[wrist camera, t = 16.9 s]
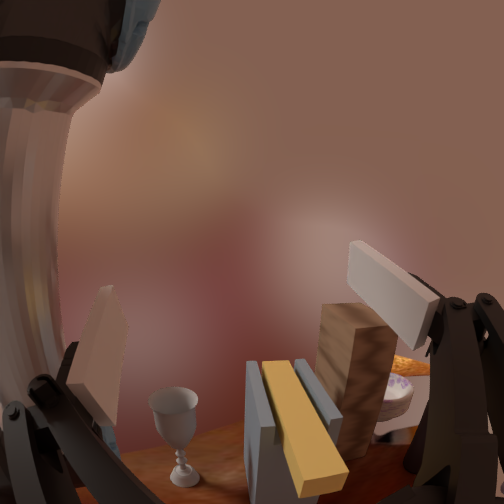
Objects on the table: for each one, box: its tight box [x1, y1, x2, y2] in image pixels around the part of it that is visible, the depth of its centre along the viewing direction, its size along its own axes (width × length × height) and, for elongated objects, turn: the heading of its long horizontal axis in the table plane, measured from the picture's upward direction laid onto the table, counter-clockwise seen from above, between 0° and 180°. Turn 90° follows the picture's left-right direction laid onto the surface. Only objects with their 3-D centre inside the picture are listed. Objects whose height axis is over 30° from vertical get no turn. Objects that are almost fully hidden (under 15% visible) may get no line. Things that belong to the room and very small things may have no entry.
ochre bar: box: [262, 360, 349, 498], centre depth 29 cm, size 4×24×3 cm, turn 6°
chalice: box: [148, 387, 200, 487], centre depth 34 cm, size 7×7×18 cm
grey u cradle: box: [244, 359, 343, 504], centre depth 33 cm, size 9×16×22 cm, turn 6°
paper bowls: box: [377, 373, 414, 422], centre depth 54 cm, size 15×15×8 cm
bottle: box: [403, 400, 429, 474], centre depth 32 cm, size 7×7×20 cm
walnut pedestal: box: [315, 303, 398, 461], centre depth 45 cm, size 8×14×28 cm, turn 6°
